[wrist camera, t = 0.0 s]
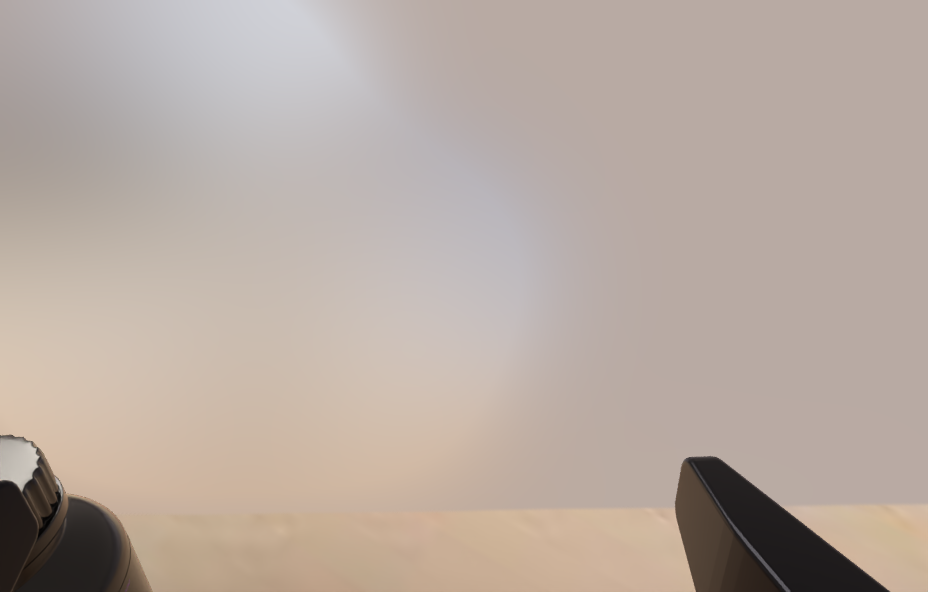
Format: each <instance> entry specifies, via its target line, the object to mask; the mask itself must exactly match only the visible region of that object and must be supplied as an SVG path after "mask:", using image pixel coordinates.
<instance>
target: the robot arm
mask: <svg viewBox="0 0 928 592" xmlns="http://www.w3.org/2000/svg"><path fill="white" fill-rule="evenodd" d="M675 511H676V518H677V522H678V526H679V530H680V534H681V537H682V541H683V545H684V549H685V552H686V556H687V560H688V564H689V567H690V571H691V575H692V579H693V582H694V586H695V590H696V592H890V591H889V590H887V589H886V588H885V587H884V586H882V585H881V584H880V583H878V582H877V581H876V580H875V579H873V578H872V577H871V576H869V575H868V574H867V573H866V572H864V571H863V570H862V569H860V568H859V567H858V566H857V565H855V564H854V563H853V562H852V561H850V560H849V559H848V558H846V557H845V556H844V555H843V554H841V553H840V552H839V551H837V550H836V549H835V548H834V547H832V546H831V545H830V544H828V543H827V542H826V541H825V540H823V539H822V538H821V537H819V536H818V535H817V534H816V533H814V532H813V531H812V530H811V529H809V528H808V527H807V526H805V525H804V524H803V523H802V522H800V521H799V520H798V519H796V518H795V517H794V516H793V515H791V514H790V513H789V512H787V511H786V510H785V509H784V508H782V507H781V506H780V505H779V504H777V503H776V502H775V501H773V500H772V499H771V498H769V497H768V496H767V495H766V494H764V493H763V492H762V491H760V490H759V489H758V488H757V487H755V486H754V485H753V484H752V483H750V482H749V481H748V480H746V479H745V478H744V477H743V476H741V475H740V474H739V473H737V472H736V471H735V470H734V469H732V468H731V467H730V466H728V465H727V464H726V463H725V462H723V461H722V460H721V459H719V458H717V457H711V456H708V457H689V458H686V459H685V460H684V461H683V463H682V467H681V472H680V478H679V483H678V489H677V495H676V501H675ZM38 528H39V527H38V521H37V519H36V517H35V515H34V513H33V512H32V510H31V508H30V506H29V504H28V503H27V501H26V499H25V497H24V495H23V493H22V492H21V490H20V488H19V487H18V485H17V484H16V483H14V482H12V481H9V480H0V592H12V590H13V588H14V586H15V584H16V582H17V580H18V578H19V576H20V573H21V571H22V569H23V567H24V565H25V563H26V561H27V559H28V557H29V555H30V552H31V550H32V548H33V546H34V544H35V542H36V539H37V536H38Z"/></svg>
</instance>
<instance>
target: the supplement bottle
mask: <svg viewBox="0 0 928 592" xmlns="http://www.w3.org/2000/svg"><path fill="white" fill-rule="evenodd" d="M0 480H9V481H12V482H14V483H16V484H17V485H18V487H19V488H20V490H21V492H22V493H23V495H24V497H25V499H26V501H27V503H28V504H29V506H30V508H31V510H32V512H33V513H34V515H35V517H36V519H37V521H38V527H39V528H38V536H37V539H36V542H35V544H34V546H33V548H32V550H31V552H30V555H29V557H28V559H27V561H26V563H25V565H24V567H23V569H22V571H21V573H20V576H19V578H18V580H17V582H16V584H15V586H14V588H13V590H12V592H153V591H152V589H151V587H150V585H149V582H148V580H147V578H146V575H145V573H144V571H143V569H142V566H141V564H140V562H139V559H138V557H137V555H136V553H135V550H134V548H133V546H132V544H131V541H130V539H129V537H128V535H127V533H126V531H125V529H124V527H123V525H122V524H121V522H120V520H119V519H118V518H117V516H116V515H115V514H114V513H113V512H112V511H110V510H109V509H108V508H106V507H105V506H103V505H101V504H100V503H98V502H96V501H93V500H91V499H88V498H86V497H82V496H78V495H73V494H66V492H65V490H64V488H63V486H62V484H61V482H60V480H59V479H58V478H57V477H56V476H55V475H54V474H53V472H52V470H51V468H50V466H49V464H48V462H47V460H46V458H45V456H44V454H43V452H42V451H41V450H40V449H39V448H38V447H37V446H36V444H35V443H34V442H32V441H27V440H26V439H25V438H24V437H14V436H13V435H3V436H1V435H0Z"/></svg>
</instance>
